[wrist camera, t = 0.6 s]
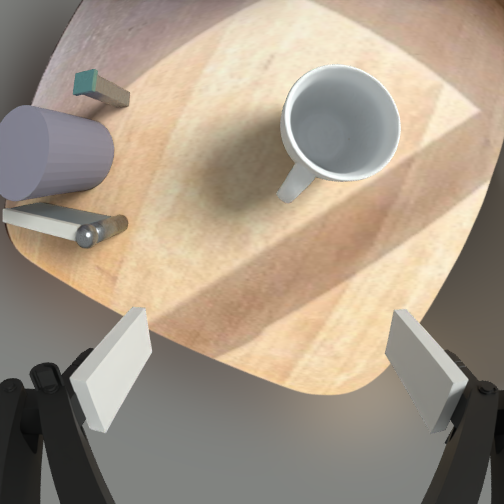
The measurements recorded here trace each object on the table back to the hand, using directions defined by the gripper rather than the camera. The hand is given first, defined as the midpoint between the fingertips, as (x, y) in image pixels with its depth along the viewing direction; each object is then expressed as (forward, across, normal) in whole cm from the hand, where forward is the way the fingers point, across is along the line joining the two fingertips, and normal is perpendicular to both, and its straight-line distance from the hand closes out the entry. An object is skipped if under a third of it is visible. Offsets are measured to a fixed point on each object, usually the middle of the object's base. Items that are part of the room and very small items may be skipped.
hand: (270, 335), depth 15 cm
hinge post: (+26, -20, +2) cm, 33 cm away
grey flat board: (+25, -29, +3) cm, 38 cm away
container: (+26, -26, +12) cm, 39 cm away
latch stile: (+26, -20, +19) cm, 38 cm away
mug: (+26, +6, +12) cm, 29 cm away
